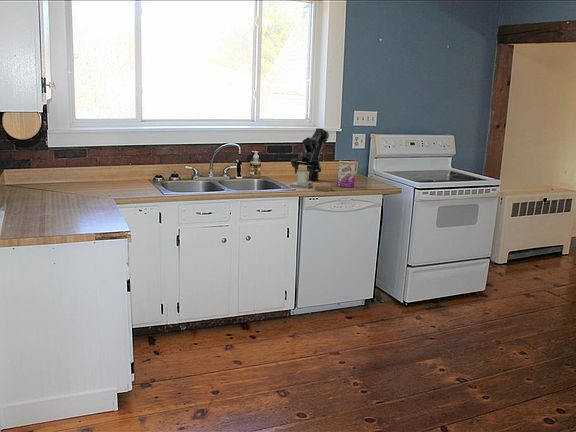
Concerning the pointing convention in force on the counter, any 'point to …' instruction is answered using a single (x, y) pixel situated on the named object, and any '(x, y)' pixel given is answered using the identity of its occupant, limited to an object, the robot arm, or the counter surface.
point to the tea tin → (302, 176)
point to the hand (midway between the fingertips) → (302, 174)
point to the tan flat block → (321, 187)
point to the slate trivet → (302, 185)
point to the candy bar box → (346, 174)
